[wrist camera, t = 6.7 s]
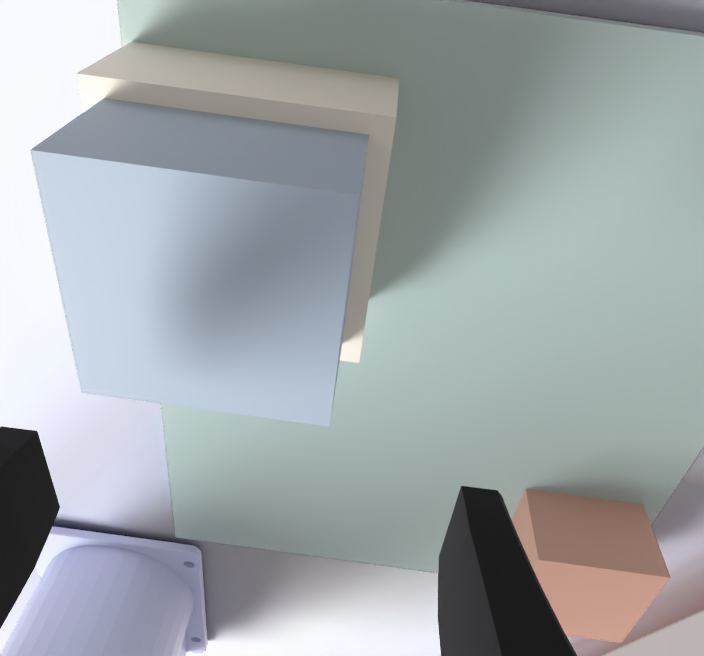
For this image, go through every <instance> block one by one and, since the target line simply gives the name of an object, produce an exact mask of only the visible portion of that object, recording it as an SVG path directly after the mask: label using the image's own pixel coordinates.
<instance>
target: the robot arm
mask: <svg viewBox="0 0 704 656" xmlns="http://www.w3.org/2000/svg"><path fill="white" fill-rule="evenodd" d="M59 508H60V506H59V503H58V499H57V496H56V493H55V489H54V486H53V483H52V479H51V476H50V473H49V469H48V466H47V463H46V459H45V456H44V452H43V449H42V446H41V442H40V439H39V436H38V432H37V431H32V430H24V429H16V428H8V427H0V628H1V626H2V625H3V623H4V621H5V619H6V618H7V616H8V614H9V612H10V611H11V609H12V607H13V605H14V603H15V602H16V600H17V598H18V596H19V595H20V593H21V591H22V589H23V587H24V586H25V584H26V582H27V580H28V578H29V577H30V575H31V573H32V571H33V569H34V567H35V566H36V567H37V570H38V573H39V576H40V578H41V579H40V581H39V582H38V584H37V586H36V588H35V590H34V592H33V594H32V596H31V597H30V599H29V601H28V603H27V605H26V607H25V609H24V611H23V612H22V614H21V616H20V618H19V620H18V622H17V624H16V626H15V627H14V629H13V631H12V633H11V635H10V637H9V639H8V641H7V642H6V644H5V646H4V648H3V650H2V652H1V654H0V656H185V655H186V652H194V653H203V652H204V651H206V648H207V644H208V642H207V628H206V613H205V598H204V583H203V568H202V553H201V551H200V549H199V548H197V547H196V546H193V545H187V544H180V543H173V542H165V541H158V540H151V539H143V538H136V537H129V536H121V535H114V534H107V533H99V532H92V531H85V530H77V529H70V528H63V527H55V526H53V523H54V521H55V518H56V516H57V513H58V511H59ZM438 623H439V635H440V647H441V656H577V655H576V653H575V651H574V649H573V647H572V646H571V644H570V642H569V640H568V638H567V636H566V634H565V633H564V631H563V629H562V627H561V625H560V623H559V621H558V619H557V617H556V615H555V613H554V611H553V609H552V607H551V605H550V603H549V601H548V599H547V597H546V595H545V593H544V591H543V589H542V587H541V585H540V583H539V581H538V579H537V576H536V574H535V572H534V570H533V568H532V566H531V563H530V561H529V559H528V557H527V555H526V552H525V550H524V548H523V546H522V543H521V541H520V539H519V537H518V534H517V532H516V530H515V527H514V525H513V522H512V520H511V517H510V515H509V512H508V510H507V507H506V505H505V502H504V500H503V497H502V495H501V494H500V493H499V492H498V490H491V489H483V488H475V487H468V486H461V488H460V491H459V494H458V497H457V501H456V504H455V507H454V510H453V513H452V516H451V519H450V523H449V526H448V529H447V532H446V535H445V538H444V542H443V545H442V548H441V551H440V554H439V573H438Z"/></svg>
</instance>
